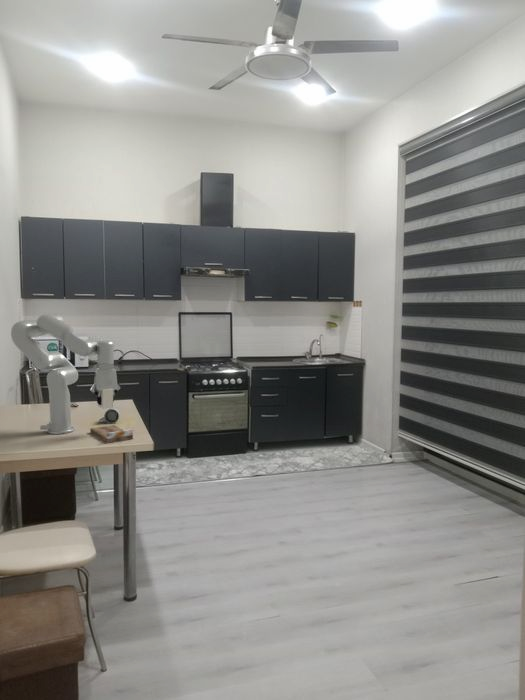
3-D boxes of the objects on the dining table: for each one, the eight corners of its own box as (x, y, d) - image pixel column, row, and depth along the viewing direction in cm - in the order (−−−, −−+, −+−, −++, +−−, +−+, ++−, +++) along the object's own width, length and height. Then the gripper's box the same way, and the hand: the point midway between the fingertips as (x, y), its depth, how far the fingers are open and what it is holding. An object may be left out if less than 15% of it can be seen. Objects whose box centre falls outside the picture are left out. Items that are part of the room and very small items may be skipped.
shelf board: (107, 443, 231) (107, 433, 231) (90, 432, 251) (90, 423, 250) (133, 439, 239) (132, 429, 238) (114, 429, 258) (114, 420, 258)
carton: (102, 408, 243) (102, 390, 243) (97, 406, 249) (97, 387, 248) (113, 407, 246) (113, 389, 246) (108, 405, 252) (108, 387, 251)
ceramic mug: (120, 419, 279) (119, 405, 278) (119, 423, 271) (118, 408, 270) (99, 421, 277) (99, 407, 276) (98, 424, 269) (97, 410, 268)
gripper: (90, 368, 238) (90, 407, 240) (125, 366, 248) (125, 403, 250) (85, 366, 244) (85, 404, 246) (119, 364, 254) (119, 401, 256)
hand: (105, 403), depth 248 cm, fingers closed on carton, 5 cm apart
